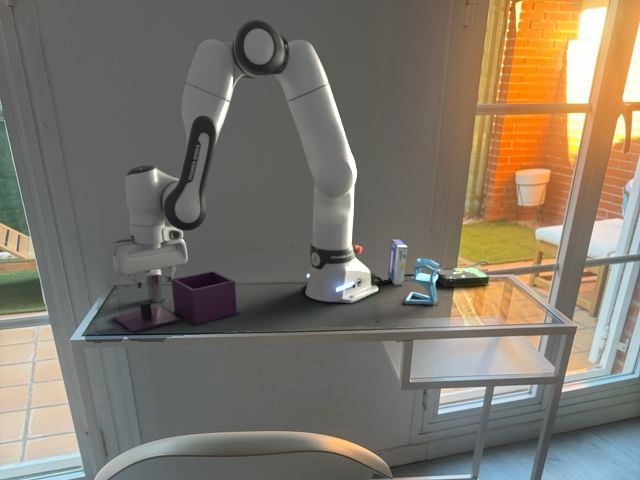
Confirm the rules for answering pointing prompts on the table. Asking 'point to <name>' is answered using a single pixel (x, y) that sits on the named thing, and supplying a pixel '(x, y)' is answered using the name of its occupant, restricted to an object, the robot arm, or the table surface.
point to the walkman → (397, 262)
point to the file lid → (146, 318)
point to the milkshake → (154, 284)
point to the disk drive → (461, 276)
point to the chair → (424, 282)
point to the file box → (204, 297)
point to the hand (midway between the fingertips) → (153, 284)
